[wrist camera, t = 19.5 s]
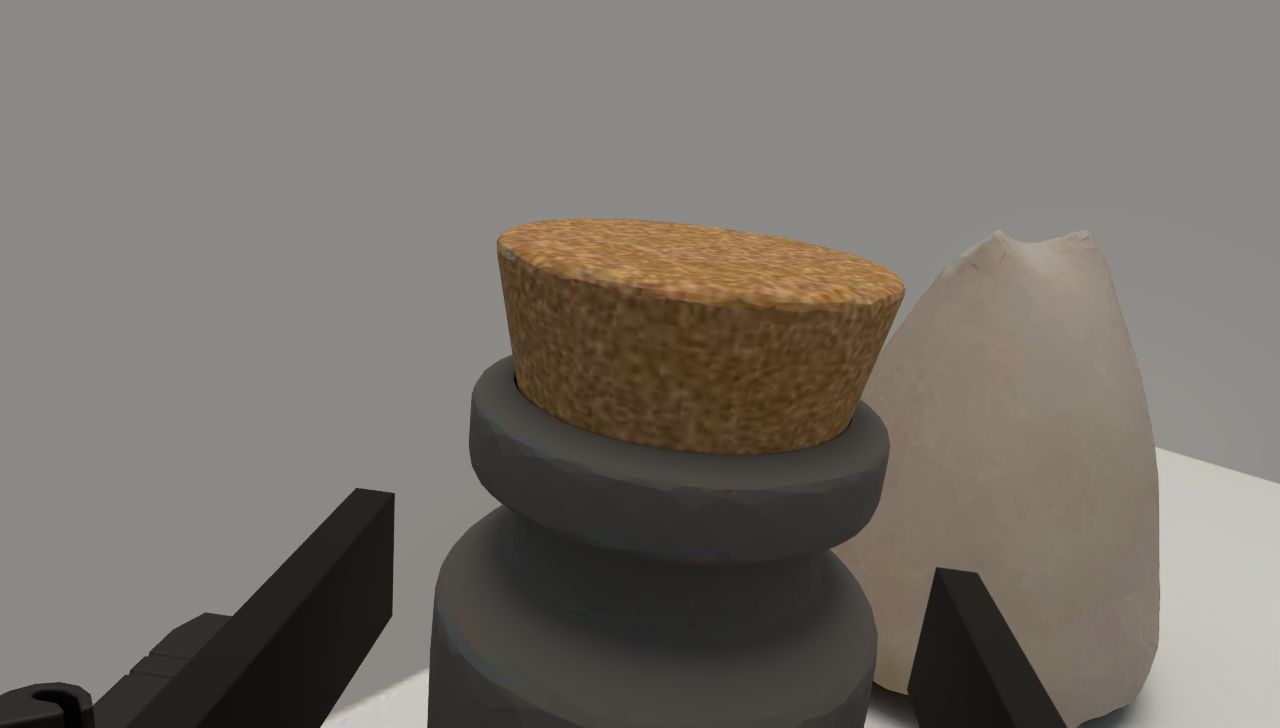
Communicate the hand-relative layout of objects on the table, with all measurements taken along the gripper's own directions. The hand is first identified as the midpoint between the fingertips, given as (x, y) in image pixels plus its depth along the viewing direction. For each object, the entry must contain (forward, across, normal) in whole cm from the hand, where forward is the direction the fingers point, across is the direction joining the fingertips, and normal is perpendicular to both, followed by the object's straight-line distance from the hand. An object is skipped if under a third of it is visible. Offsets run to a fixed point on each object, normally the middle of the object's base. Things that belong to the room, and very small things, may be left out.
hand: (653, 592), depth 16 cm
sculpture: (+13, +11, -9) cm, 19 cm away
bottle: (-4, 0, -8) cm, 9 cm away
